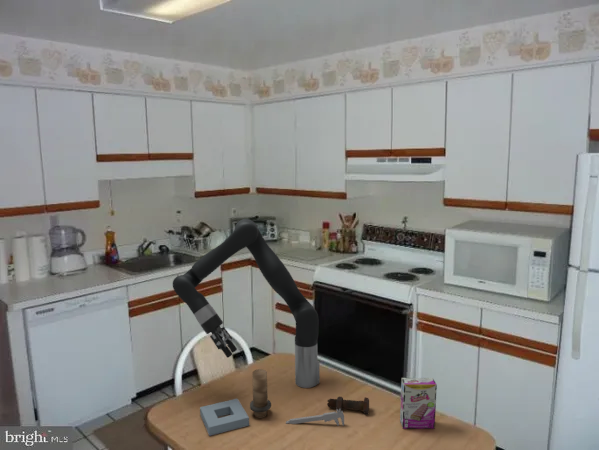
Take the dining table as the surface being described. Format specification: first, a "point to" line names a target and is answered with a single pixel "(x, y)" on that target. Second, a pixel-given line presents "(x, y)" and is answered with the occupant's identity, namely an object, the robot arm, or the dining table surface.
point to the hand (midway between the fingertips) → (232, 353)
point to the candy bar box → (418, 403)
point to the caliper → (320, 418)
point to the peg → (260, 393)
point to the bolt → (349, 404)
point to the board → (226, 423)
